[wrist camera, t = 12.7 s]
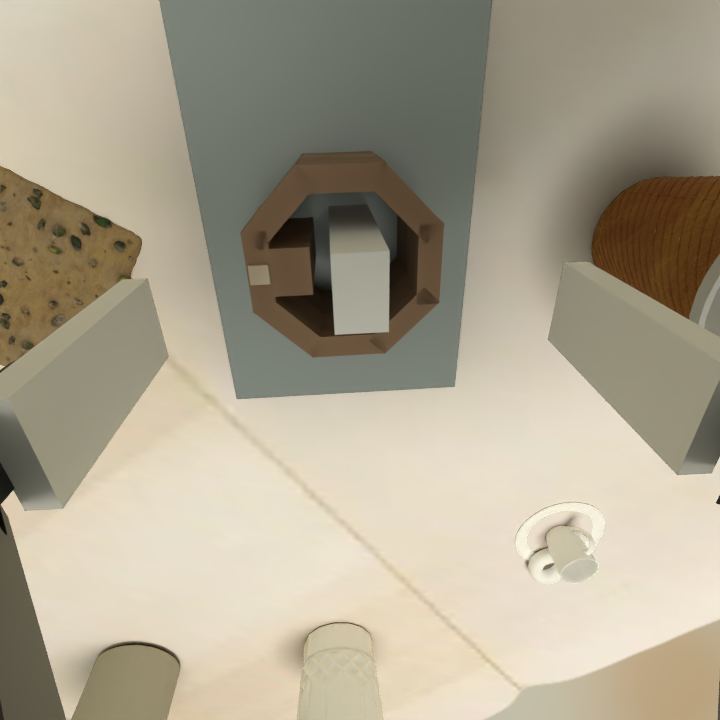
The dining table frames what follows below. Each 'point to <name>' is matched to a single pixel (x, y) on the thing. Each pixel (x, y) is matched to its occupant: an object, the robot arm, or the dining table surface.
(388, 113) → the shaft board
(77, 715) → the travel mug
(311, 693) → the white cup
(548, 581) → the teacup and saucer
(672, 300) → the disposable coffee cup
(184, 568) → the dining table surface
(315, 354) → the brown octagonal ring
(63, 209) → the speckled square slab
